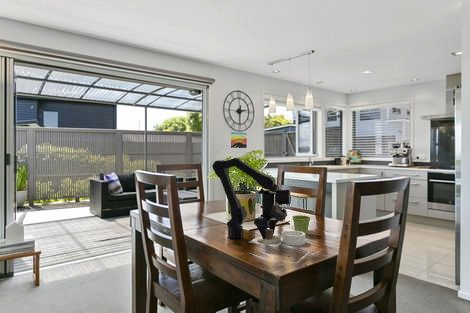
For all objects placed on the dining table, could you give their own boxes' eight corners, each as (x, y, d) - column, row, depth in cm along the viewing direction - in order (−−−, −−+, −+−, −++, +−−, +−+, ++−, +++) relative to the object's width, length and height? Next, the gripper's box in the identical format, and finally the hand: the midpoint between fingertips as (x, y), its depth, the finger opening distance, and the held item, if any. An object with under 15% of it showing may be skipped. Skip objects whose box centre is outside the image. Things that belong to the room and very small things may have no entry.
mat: (248, 243, 139) (248, 242, 139) (261, 236, 151) (261, 235, 151) (276, 248, 132) (276, 246, 132) (287, 240, 144) (287, 238, 144)
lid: (252, 241, 140) (252, 230, 140) (262, 236, 149) (262, 225, 149) (274, 245, 134) (274, 233, 134) (283, 239, 144) (283, 228, 144)
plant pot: (313, 236, 151) (313, 218, 151) (295, 237, 150) (295, 219, 150) (306, 231, 161) (306, 215, 161) (289, 232, 159) (289, 215, 159)
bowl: (279, 244, 138) (279, 234, 138) (287, 238, 146) (287, 229, 146) (301, 247, 133) (301, 237, 133) (307, 241, 141) (307, 232, 141)
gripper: (276, 208, 129) (276, 244, 129) (291, 202, 146) (291, 234, 146) (253, 205, 135) (253, 241, 135) (270, 200, 151) (270, 231, 151)
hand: (268, 236), depth 142 cm, fingers open, 9 cm apart
